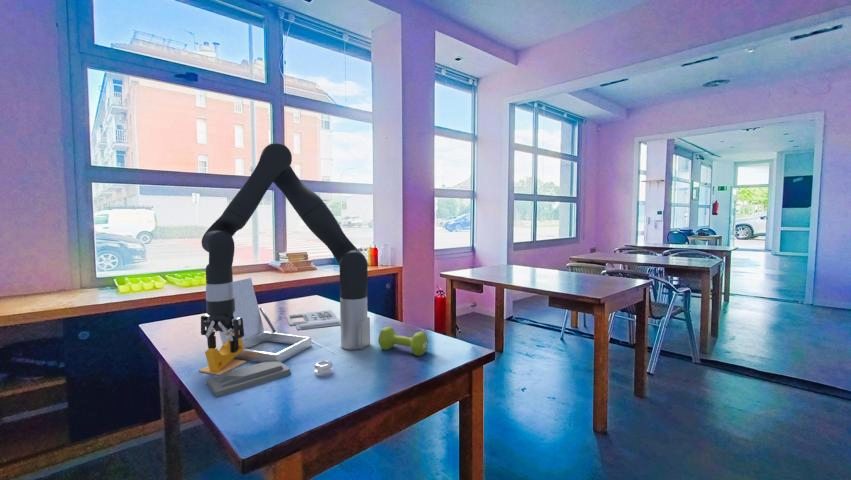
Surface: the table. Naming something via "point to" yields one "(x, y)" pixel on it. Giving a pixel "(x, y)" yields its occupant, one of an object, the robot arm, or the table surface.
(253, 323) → the lid
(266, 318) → the rod
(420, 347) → the dumbbell
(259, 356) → the case
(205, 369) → the tan rectangular plate
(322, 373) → the metal grooved wheel
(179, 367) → the table surface
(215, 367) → the yellow curved stepped piece
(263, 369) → the grey bevelled block
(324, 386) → the table surface
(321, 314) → the office telephone
